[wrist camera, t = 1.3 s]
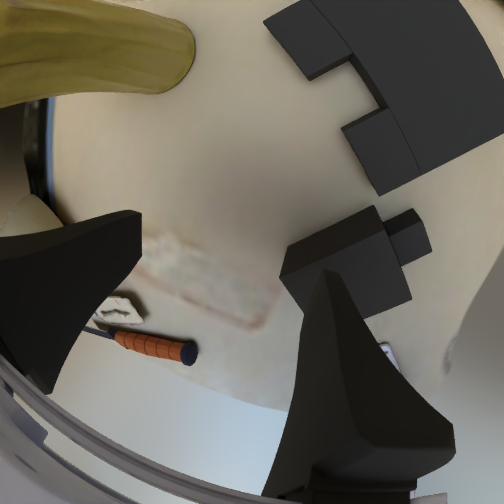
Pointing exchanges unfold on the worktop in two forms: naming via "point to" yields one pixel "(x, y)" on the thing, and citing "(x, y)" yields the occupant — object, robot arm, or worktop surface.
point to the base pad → (402, 78)
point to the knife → (151, 345)
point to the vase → (87, 49)
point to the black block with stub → (359, 259)
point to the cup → (29, 218)
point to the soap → (118, 311)
